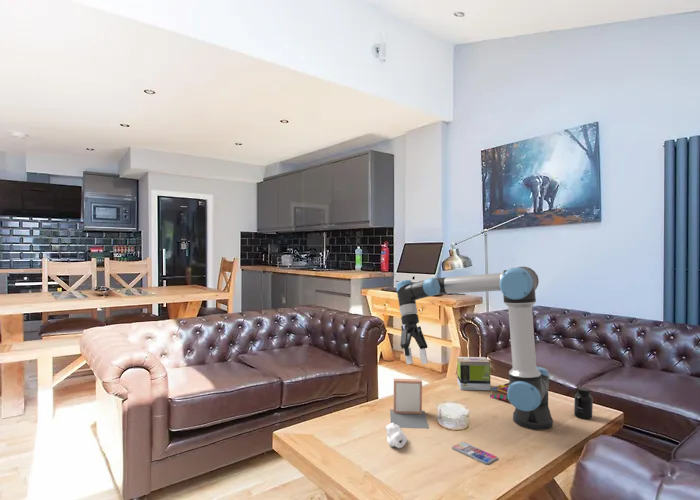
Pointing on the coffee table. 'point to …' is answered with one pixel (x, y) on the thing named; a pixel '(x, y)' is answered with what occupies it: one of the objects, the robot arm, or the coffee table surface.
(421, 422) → the mat
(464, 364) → the tea box
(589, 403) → the supplement bottle
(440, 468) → the coffee table surface
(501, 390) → the decorative book
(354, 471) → the coffee table surface
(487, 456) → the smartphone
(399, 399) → the tile
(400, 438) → the white lumpy piece
